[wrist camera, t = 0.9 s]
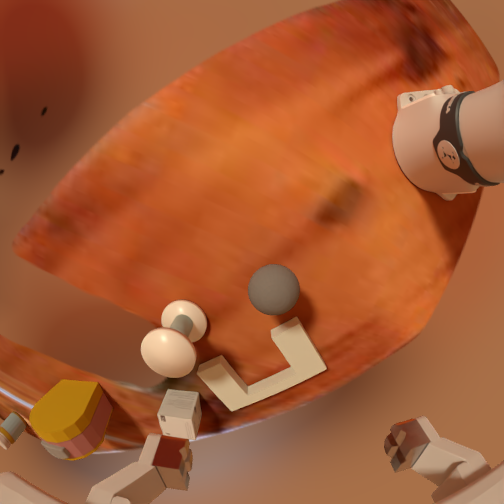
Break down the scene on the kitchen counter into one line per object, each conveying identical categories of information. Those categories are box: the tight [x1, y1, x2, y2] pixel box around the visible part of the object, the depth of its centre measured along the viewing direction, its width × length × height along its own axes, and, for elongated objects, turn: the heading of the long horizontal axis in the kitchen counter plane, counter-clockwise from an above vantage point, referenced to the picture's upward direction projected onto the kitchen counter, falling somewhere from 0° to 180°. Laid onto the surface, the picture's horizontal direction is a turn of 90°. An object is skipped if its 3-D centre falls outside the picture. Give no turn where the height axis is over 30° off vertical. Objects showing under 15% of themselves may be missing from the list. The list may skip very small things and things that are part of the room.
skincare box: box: [157, 389, 202, 440], centre depth 40 cm, size 6×6×7 cm
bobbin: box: [141, 299, 207, 378], centre depth 35 cm, size 7×7×10 cm
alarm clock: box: [29, 379, 113, 460], centre depth 36 cm, size 15×8×18 cm, turn 101°
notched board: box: [197, 316, 327, 411], centre depth 41 cm, size 18×10×2 cm, turn 121°
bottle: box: [0, 412, 27, 450], centre depth 43 cm, size 7×7×15 cm
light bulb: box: [248, 264, 300, 315], centre depth 34 cm, size 6×6×10 cm
